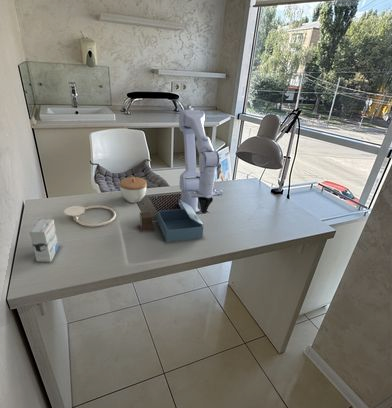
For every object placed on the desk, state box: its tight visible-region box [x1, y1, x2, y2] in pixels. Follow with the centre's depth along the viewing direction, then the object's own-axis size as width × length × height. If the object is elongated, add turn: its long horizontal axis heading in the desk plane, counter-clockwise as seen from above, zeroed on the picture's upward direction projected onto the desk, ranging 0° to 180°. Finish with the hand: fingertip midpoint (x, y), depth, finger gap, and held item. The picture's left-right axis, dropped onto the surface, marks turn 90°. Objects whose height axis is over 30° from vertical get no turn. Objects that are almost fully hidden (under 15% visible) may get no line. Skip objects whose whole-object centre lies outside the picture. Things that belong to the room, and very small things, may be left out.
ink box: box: [29, 218, 59, 263], centre depth 98 cm, size 8×5×12 cm, turn 5°
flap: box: [178, 198, 204, 226], centre depth 119 cm, size 16×7×1 cm
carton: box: [157, 208, 204, 243], centre depth 120 cm, size 16×15×5 cm
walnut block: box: [139, 211, 154, 232], centre depth 119 cm, size 4×4×6 cm
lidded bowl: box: [119, 176, 148, 204], centre depth 139 cm, size 13×13×11 cm
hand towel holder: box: [63, 204, 117, 228], centre depth 123 cm, size 17×4×21 cm
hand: (203, 212), depth 121 cm, fingers closed
